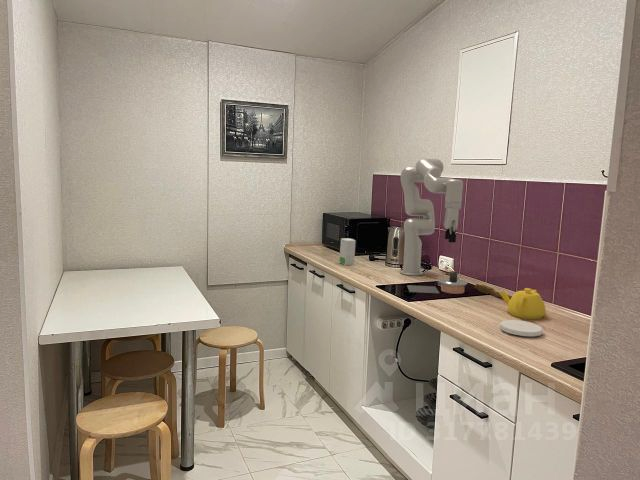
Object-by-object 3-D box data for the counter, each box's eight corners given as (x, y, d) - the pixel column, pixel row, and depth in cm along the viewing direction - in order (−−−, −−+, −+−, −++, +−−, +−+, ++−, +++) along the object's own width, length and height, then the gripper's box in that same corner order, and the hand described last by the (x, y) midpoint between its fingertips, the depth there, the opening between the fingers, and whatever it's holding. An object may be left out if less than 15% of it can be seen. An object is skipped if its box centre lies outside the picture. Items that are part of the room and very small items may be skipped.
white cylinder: (339, 263, 297) (340, 238, 295) (348, 262, 300) (349, 238, 298) (345, 265, 289) (346, 240, 287) (355, 265, 292) (356, 239, 290)
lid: (436, 279, 236) (437, 268, 235) (463, 280, 235) (464, 269, 234) (441, 285, 223) (442, 273, 222) (470, 286, 222) (470, 275, 221)
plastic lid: (543, 341, 163) (543, 334, 163) (499, 335, 168) (499, 328, 168) (540, 329, 176) (541, 323, 176) (500, 324, 181) (500, 318, 181)
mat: (406, 286, 239) (406, 285, 239) (435, 287, 238) (435, 286, 238) (409, 293, 225) (409, 291, 225) (439, 294, 224) (439, 293, 224)
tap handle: (515, 298, 210) (473, 283, 238) (514, 305, 210) (472, 289, 238) (520, 298, 211) (478, 283, 239) (520, 305, 211) (478, 289, 239)
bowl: (439, 289, 235) (440, 280, 234) (461, 290, 234) (461, 281, 234) (443, 294, 225) (444, 284, 224) (465, 295, 224) (466, 285, 223)
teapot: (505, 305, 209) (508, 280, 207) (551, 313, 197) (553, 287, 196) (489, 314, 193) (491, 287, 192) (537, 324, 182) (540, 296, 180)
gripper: (441, 203, 237) (439, 237, 240) (448, 206, 220) (445, 243, 223) (457, 204, 237) (454, 238, 239) (464, 207, 220) (461, 244, 222)
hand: (450, 240), depth 231 cm, fingers open, 9 cm apart
